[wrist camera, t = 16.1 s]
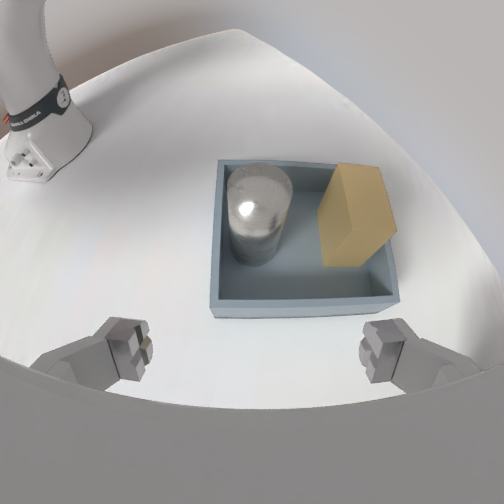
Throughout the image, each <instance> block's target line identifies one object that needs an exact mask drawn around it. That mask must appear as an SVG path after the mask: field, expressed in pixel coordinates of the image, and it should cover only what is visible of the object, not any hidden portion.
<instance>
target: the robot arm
mask: <svg viewBox="0 0 504 504" xmlns="http://www.w3.org/2000/svg"><path fill="white" fill-rule="evenodd" d="M45 1H46V0H0V99H1V101H2V103H3V104H4V106H5V108H6V109H7V111H8V114H7V115H6V116H5V118H4V119H3V121H4V120H5V119H6V118H7V119H6V121H5V124H6V123H7V121H8V120H9V123H10V127H11V131H10V134H9V137H8V140H7V143H6V146H5V157H6V159H7V160H8V162H9V166H8V170H7V178H8V179H9V180H20V181H33V182H47V181H48V180H49V179H50V178H51V177H52V176H53V175H54V174H55V173H56V172H57V171H58V170H59V169H60V168H61V167H63V166H64V165H66V164H67V163H69V162H70V161H71V160H72V159H74V158H75V157H76V156H77V155H78V154H79V153H80V152H81V151H82V149H83V148H84V147H85V146H86V144H87V143H88V141H89V139H90V137H91V134H92V125H91V123H90V122H89V121H88V120H87V119H86V118H85V117H84V116H83V115H82V113H81V112H80V111H79V109H78V108H77V107H76V105H75V104H74V102H73V101H72V99H71V98H70V94H69V90H68V87H67V85H66V83H65V81H64V78H63V76H62V75H61V74H59V73H58V71H57V68H56V66H55V63H54V61H53V58H52V55H51V53H50V50H49V47H48V44H47V40H46V33H45V16H44V5H45ZM148 332H149V327H148V323H147V322H146V321H145V320H137V319H128V318H121V317H110V318H109V319H108V320H107V321H106V322H105V323H104V324H103V325H102V326H101V327H100V329H99V330H98V331H97V332H96V333H95V334H94V335H93V336H88V337H85V338H83V339H80V340H78V341H75V342H73V343H70V344H68V345H65V346H62V347H60V348H57V349H55V350H52V351H49V352H47V353H44V354H42V355H41V356H40V357H39V358H38V359H37V360H36V361H35V362H34V363H33V364H32V365H31V366H30V367H29V368H28V367H25V366H23V365H20V364H18V363H16V362H13V361H11V360H9V359H6V358H4V357H2V356H0V504H504V363H503V364H501V365H498V366H496V367H493V368H491V369H488V370H485V371H483V372H482V371H481V370H480V369H479V368H478V367H477V365H476V364H475V363H474V362H473V361H472V360H471V359H470V358H469V357H467V356H464V355H462V354H459V353H457V352H455V351H452V350H450V349H447V348H445V347H442V346H440V345H438V344H435V343H433V342H430V341H428V340H426V339H423V338H421V339H419V337H418V336H417V335H416V334H415V333H414V332H413V330H412V329H411V328H410V327H409V326H408V324H407V323H406V322H405V321H404V320H403V319H401V318H396V319H389V320H381V321H371V322H366V323H365V325H364V328H363V334H364V335H365V337H364V338H363V339H362V341H361V342H360V347H359V358H360V361H361V364H362V365H363V366H365V367H366V368H367V369H366V374H367V377H368V379H369V381H370V383H371V384H372V383H380V382H387V381H391V382H392V383H393V384H395V385H396V386H397V387H399V388H400V389H401V390H403V391H404V392H405V393H407V394H404V395H399V396H394V397H389V398H384V399H378V400H372V401H366V402H359V403H352V404H344V405H335V406H325V407H312V408H296V409H228V408H211V407H199V406H189V405H180V404H172V403H164V402H158V401H151V400H145V399H140V398H134V397H129V396H124V395H119V394H115V393H110V392H106V391H104V390H106V389H107V388H109V387H110V386H112V385H113V384H114V383H116V382H117V381H119V380H120V379H125V380H132V381H139V382H140V380H141V378H142V376H143V375H144V373H145V371H146V370H145V365H147V364H149V363H150V361H151V359H152V354H153V345H152V340H151V339H150V338H149V337H148V336H147V334H148Z"/></svg>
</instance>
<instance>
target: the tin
mask: <svg viewBox="0 0 504 504" xmlns="http://www.w3.org/2000/svg"><path fill="white" fill-rule="evenodd" d="M292 194H293V187H292V183H291V180H290V179H289V177H288V176H287V174H286V173H285V172H284V171H282V170H281V169H280V168H278V167H276V166H274V165H271V164H268V163H261V162H255V163H249V164H246V165H243V166H241V167H239V168H238V169H236V170H235V171H234V172H233V173H232V174H231V176H230V177H229V179H228V182H227V199H228V216H229V231H230V246H231V252H232V254H233V256H234V258H235V259H236V260H237V261H238V262H239V263H241V264H243V265H245V266H249V267H259V266H263V265H265V264H267V263H268V262H269V261H270V260H271V259H272V258H273V257H274V255H275V252H276V249H277V245H278V242H279V239H280V235H281V232H282V229H283V225H284V222H285V218H286V215H287V212H288V208H289V205H290V201H291V198H292Z"/></svg>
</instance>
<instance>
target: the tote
mask: <svg viewBox="0 0 504 504" xmlns="http://www.w3.org/2000/svg"><path fill="white" fill-rule="evenodd" d="M255 162H261V163H268V164H271V165H274V166H276V167H278V168H280V169H281V170H282V171H284V172H285V173H286V174H287V176H288V177H289V179H290V180H291V183H292V187H293V194H292V198H291V201H290V205H289V208H288V212H287V215H286V218H285V222H284V225H283V229H282V232H281V235H280V239H279V242H278V245H277V249H276V252H275V255H274V257H273V258H272V259H271V260H270V261H269V262H268V263H267V264H265V265H263V266H259V267H249V266H245V265H243V264H241V263H239V262H238V261H237V260H236V259H235V258H234V256H233V254H232V252H231V246H230V231H229V216H228V199H227V182H228V179H229V177H230V176H231V174H232V173H233V172H234V171H235V170H236V169H238V168H239V167H241V166H243V165H246V164H249V163H255ZM336 166H337V165H333V164H321V163H308V162H292V161H270V160H218V168H217V180H216V194H215V208H214V223H213V240H212V259H211V282H210V309H211V311H212V313H213V315H214V317H215V318H305V317H328V316H346V315H361V314H374V313H378V312H380V311H383V310H385V309H387V308H389V307H391V306H393V305H395V304H397V303H399V302H400V297H399V290H398V283H397V277H396V271H395V266H394V260H393V255H392V250H391V245H390V241H389V240H388V241H387V242H386V243H385V244H384V245H383V246H381V247H380V248H379V249H378V250H377V251H376V252H375V253H374V254H373V255H372V256H371V257H370V258H369V259H368V260H367V261H366V262H365V263H364V264H362V265H361V266H360V267H323V259H322V250H321V242H320V233H319V226H318V218H317V209H318V207H319V204H320V202H321V200H322V198H323V196H324V193H325V191H326V189H327V187H328V184H329V182H330V180H331V178H332V175H333V173H334V171H335V168H336Z"/></svg>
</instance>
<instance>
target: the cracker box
mask: <svg viewBox="0 0 504 504" xmlns="http://www.w3.org/2000/svg"><path fill="white" fill-rule="evenodd" d="M317 218H318V226H319V233H320V242H321V250H322V259H323V267H360V266H361V265H362V264H364V263H365V262H366V261H367V260H368V259H369V258H370V257H371V256H372V255H373V254H374V253H375V252H376V251H377V250H378V249H379V248H380V247H381V246H383V245H384V244H385V243H386V242H387V241H388V240H389V239H390V238H391V237H392V236H393V235H394V234H395V233H396V232H397V229H396V225H395V221H394V217H393V214H392V210H391V206H390V203H389V199H388V196H387V192H386V189H385V186H384V183H383V179H382V176H381V173H380V170H379V168H378V167H371V166H363V165H354V164H345V163H338V164H337V166H336V168H335V171H334V173H333V175H332V178H331V180H330V182H329V184H328V187H327V189H326V191H325V193H324V196H323V198H322V200H321V202H320V204H319V207H318V209H317Z"/></svg>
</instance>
